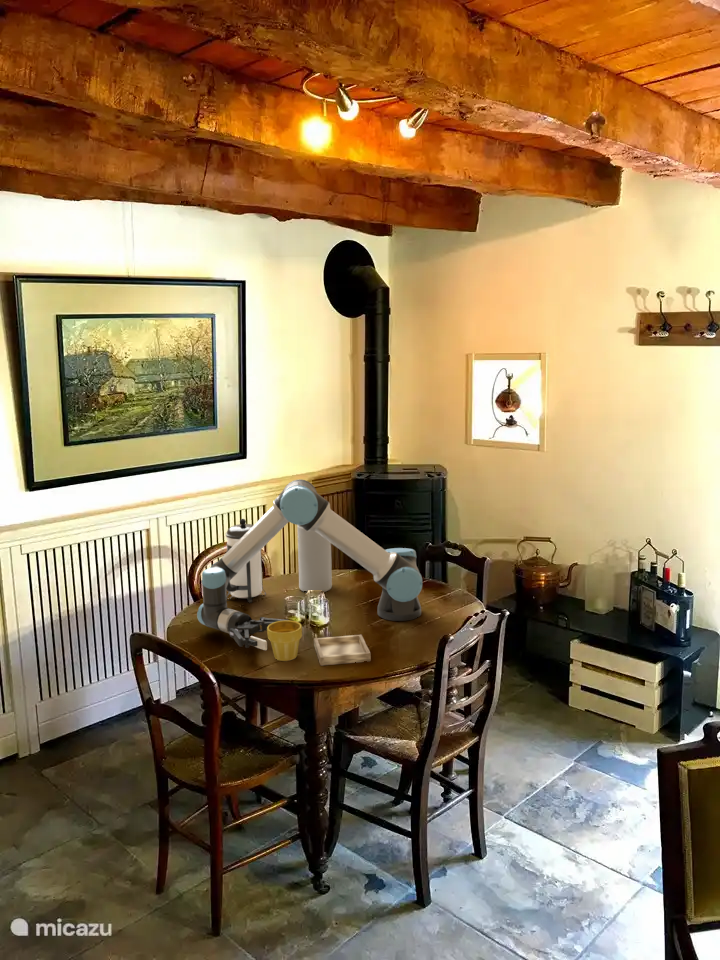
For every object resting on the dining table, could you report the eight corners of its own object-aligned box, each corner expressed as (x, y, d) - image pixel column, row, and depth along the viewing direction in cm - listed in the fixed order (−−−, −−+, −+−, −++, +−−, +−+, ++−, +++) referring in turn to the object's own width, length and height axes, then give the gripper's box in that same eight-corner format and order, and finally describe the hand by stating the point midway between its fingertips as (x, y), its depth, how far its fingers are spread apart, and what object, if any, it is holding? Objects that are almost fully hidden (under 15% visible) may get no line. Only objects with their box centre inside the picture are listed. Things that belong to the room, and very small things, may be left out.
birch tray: (361, 642, 244) (361, 634, 243) (370, 661, 229) (370, 653, 229) (314, 646, 241) (313, 638, 241) (320, 665, 227) (320, 657, 226)
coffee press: (220, 593, 293) (217, 516, 287) (262, 589, 297) (260, 513, 292) (226, 608, 276) (222, 526, 271) (270, 603, 281) (267, 523, 275)
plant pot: (271, 665, 227) (269, 634, 225) (265, 652, 237) (264, 622, 235) (305, 661, 230) (304, 630, 228) (299, 648, 240) (298, 618, 238)
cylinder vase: (331, 582, 304) (330, 520, 299) (332, 593, 291) (330, 528, 287) (299, 583, 303) (297, 521, 299) (299, 594, 291) (297, 529, 286)
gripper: (264, 623, 256) (311, 638, 242) (205, 646, 237) (252, 664, 224) (264, 601, 254) (310, 615, 241) (203, 623, 236) (251, 639, 222)
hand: (282, 638), depth 232 cm, fingers open, 13 cm apart
